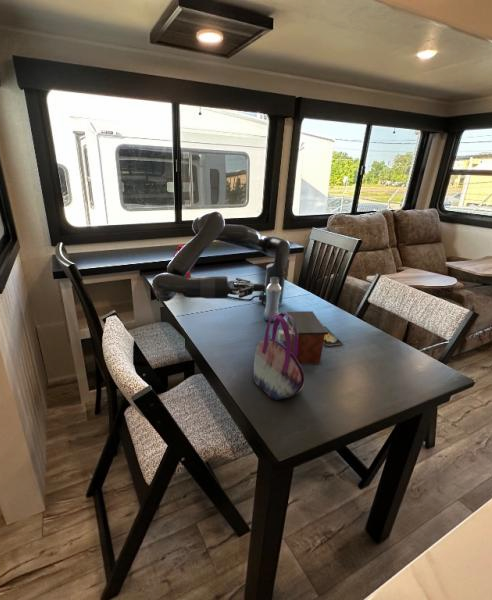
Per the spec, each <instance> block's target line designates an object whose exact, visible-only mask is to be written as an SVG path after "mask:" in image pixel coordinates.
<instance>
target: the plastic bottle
mask: <svg viewBox="0 0 492 600" xmlns="http://www.w3.org/2000/svg"><path fill="white" fill-rule="evenodd" d="M270 282H271V283H270V284H269V285H268V286H267V288H266V295H267V299H266V300H267V301H266V305H265V308H264V311H263V317H264V319H265V320H266V321H267V322H268V321H269V319H270V318H271V317H272V316H273V315H279V314H280V311H279V307H278V303H279V298H280V294H281V287H280V285H279V284H278V283H279V278H278V277H271V278H270ZM275 320H276V317H274V318H273V319H272V320H271V322H275Z"/></svg>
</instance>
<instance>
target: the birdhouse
mask: <svg viewBox="0 0 492 600" xmlns="http://www.w3.org/2000/svg"><path fill="white" fill-rule="evenodd" d="M285 314H289V315H290V316H292V318H293V319H291V318H290V317H289V316H287V315H286V319H285V321H286V323H287V326H288V329H289V330H291V331H292V332H293V338H292V341H291V350H290V352H291V353H292V354H293V351H294V341H295V326H296V329H297V336H298V354H297V360H298V362H299V364H300V365H308V364H309V365H312V364H314V365H315V364H316V365H318V364H320V363H321V359H322V353H323V348H324V343H323V342H324V336H325V334H328V331H327V330H326V329H325V327H326V326H325V325H324V324H323V323H322V322H321V321H320V319H319V318H318V317H317V315H316V314H315V313H314V312H313V311H310V310H308V311H307V310H306V311H305V310H304V311H303V310H302V311H299V310H297V311H286V312H285ZM293 320H294V321H293ZM294 323H295V326H294ZM324 326H325V327H324ZM284 343H285V345H286V341H284Z"/></svg>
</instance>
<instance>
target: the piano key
mask: <svg viewBox="0 0 492 600" xmlns="http://www.w3.org/2000/svg"><path fill="white" fill-rule="evenodd" d="M289 334H290V339H291V341H292V338H293V332H292V331H291V330H289ZM277 338H278V342H285V341H286V338H285V335H284V332H283V329H277Z"/></svg>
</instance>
